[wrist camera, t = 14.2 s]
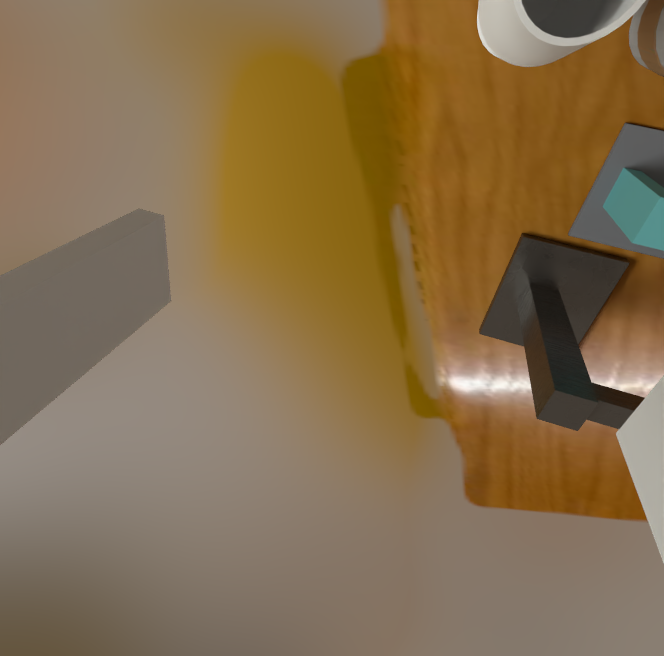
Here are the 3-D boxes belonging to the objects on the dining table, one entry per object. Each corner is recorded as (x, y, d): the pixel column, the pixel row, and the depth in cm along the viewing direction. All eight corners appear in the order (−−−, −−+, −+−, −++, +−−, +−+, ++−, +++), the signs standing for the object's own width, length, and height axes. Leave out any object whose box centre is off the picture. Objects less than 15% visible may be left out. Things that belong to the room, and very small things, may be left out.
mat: (625, 122, 35) (626, 123, 35) (754, 149, 34) (757, 150, 34) (568, 233, 41) (568, 235, 41) (676, 260, 40) (678, 262, 40)
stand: (522, 233, 42) (548, 331, 28) (698, 276, 40) (826, 407, 26) (479, 329, 49) (482, 448, 35) (627, 370, 47) (696, 516, 33)
